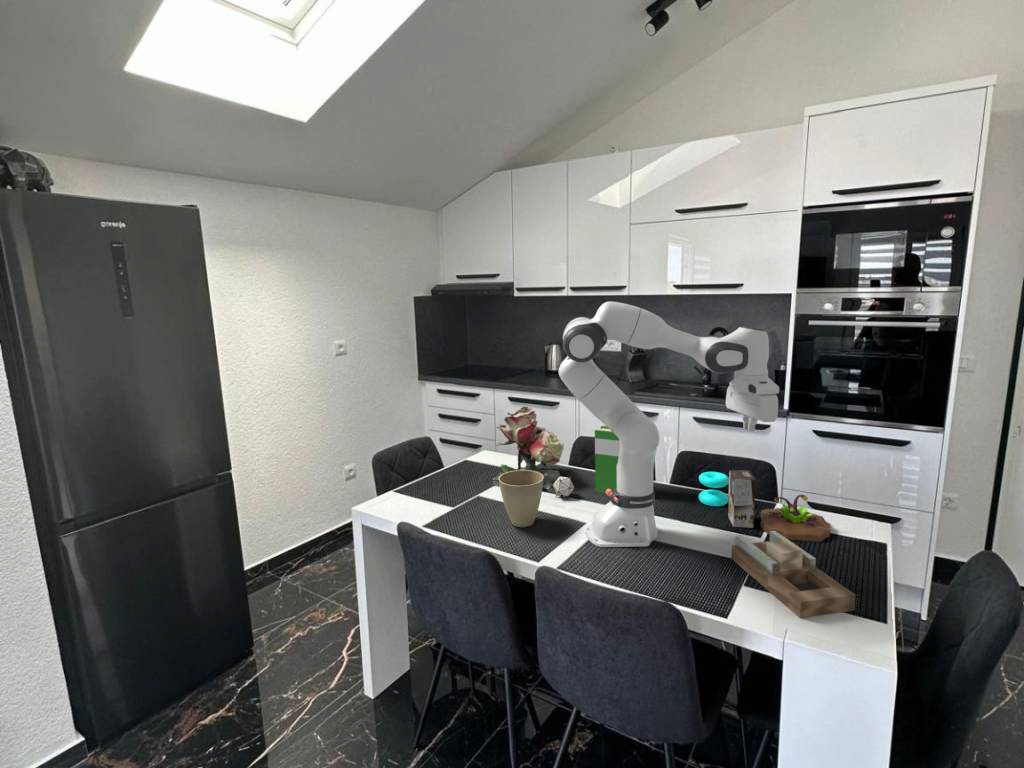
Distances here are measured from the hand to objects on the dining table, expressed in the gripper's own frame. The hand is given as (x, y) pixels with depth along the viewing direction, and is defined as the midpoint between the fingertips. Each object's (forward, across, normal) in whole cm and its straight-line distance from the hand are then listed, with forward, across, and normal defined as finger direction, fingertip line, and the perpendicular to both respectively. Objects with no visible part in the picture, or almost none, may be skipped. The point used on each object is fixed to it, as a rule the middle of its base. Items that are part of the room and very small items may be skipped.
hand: (748, 430), depth 156 cm
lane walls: (+30, +18, -3) cm, 35 cm away
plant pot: (+34, -28, -63) cm, 77 cm away
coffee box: (+34, -12, +6) cm, 37 cm away
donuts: (+34, -29, +6) cm, 45 cm away
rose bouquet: (+34, -70, -52) cm, 94 cm away
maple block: (+30, +22, -3) cm, 37 cm away
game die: (+34, -47, -44) cm, 73 cm away
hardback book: (+34, -47, -22) cm, 62 cm away
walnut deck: (+34, +24, -3) cm, 42 cm away
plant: (+35, -5, +20) cm, 40 cm away
